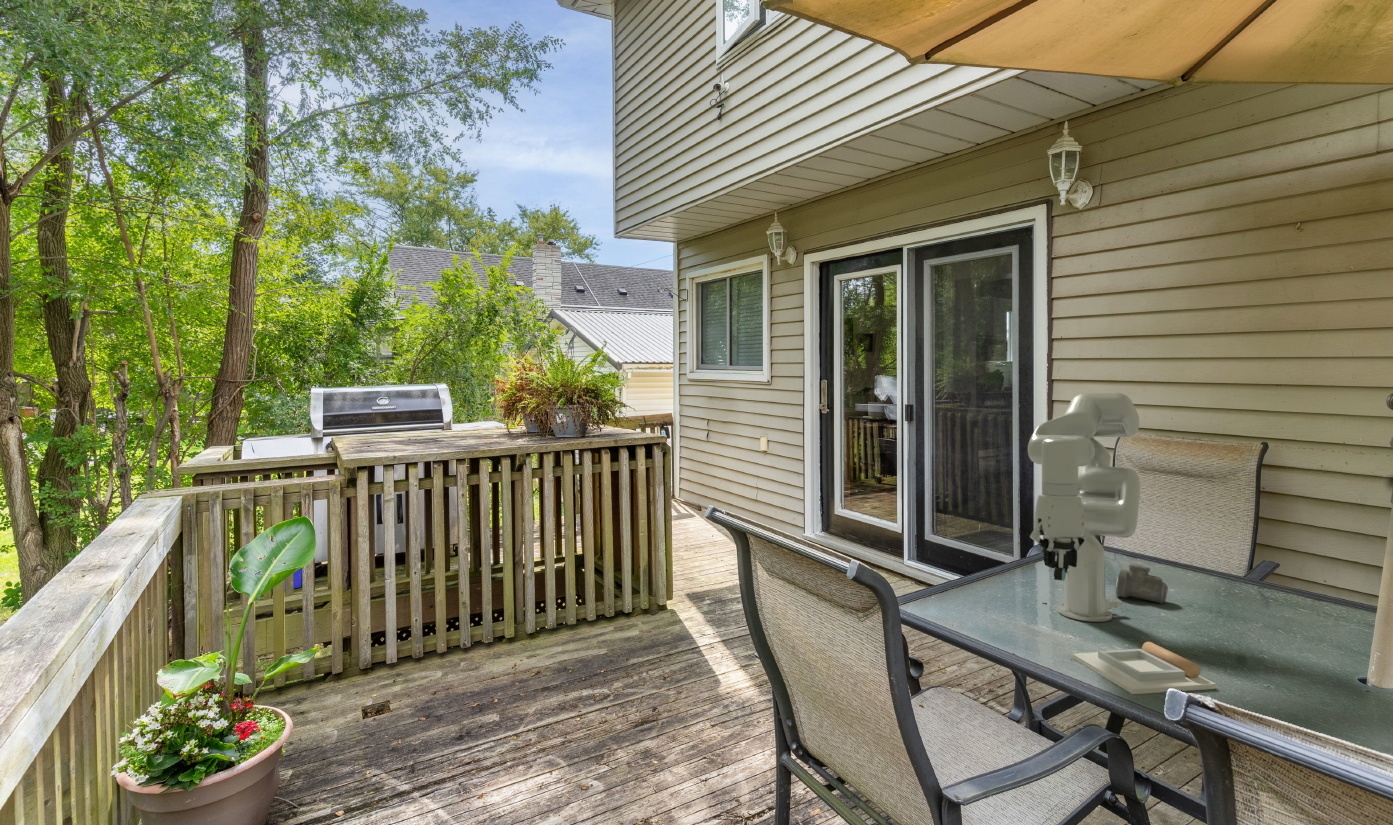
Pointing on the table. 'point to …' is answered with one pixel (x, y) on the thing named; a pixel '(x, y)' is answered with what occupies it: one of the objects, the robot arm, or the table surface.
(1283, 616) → the table surface
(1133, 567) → the pipe fitting
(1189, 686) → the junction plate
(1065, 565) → the push button
